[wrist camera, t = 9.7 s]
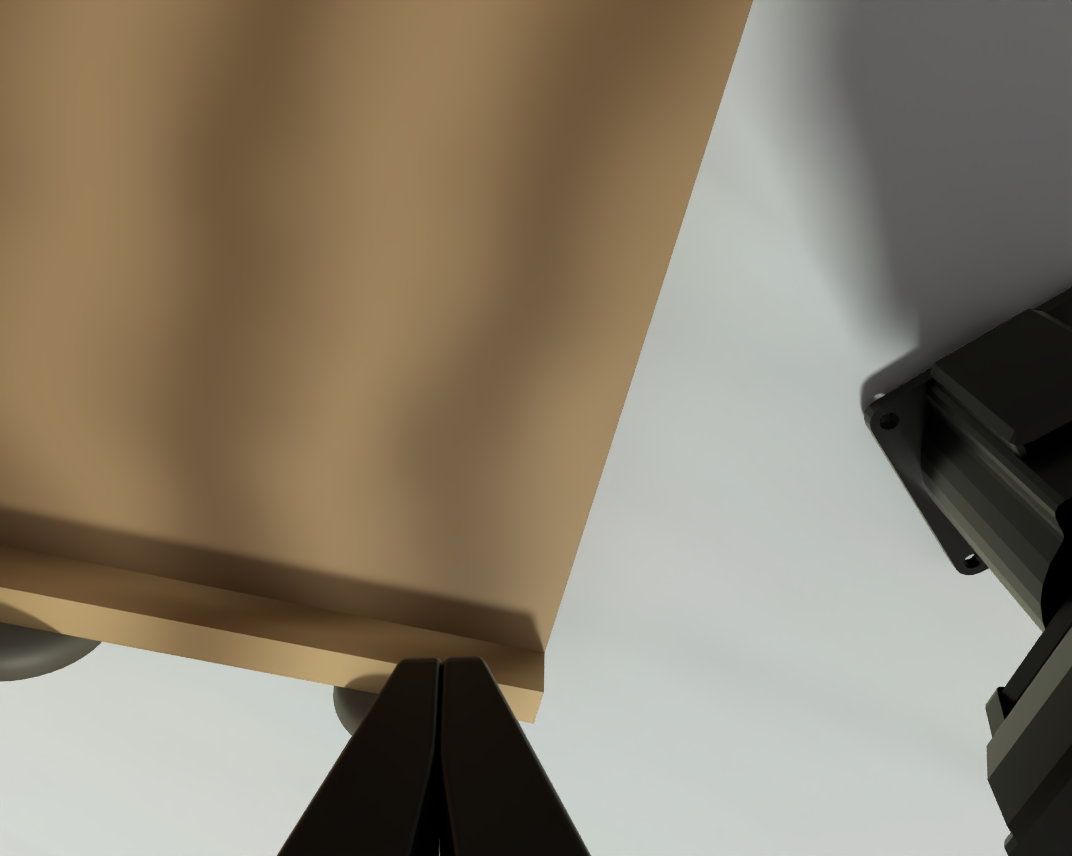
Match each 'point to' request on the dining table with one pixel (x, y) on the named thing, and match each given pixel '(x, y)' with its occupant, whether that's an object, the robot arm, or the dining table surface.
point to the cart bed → (327, 318)
